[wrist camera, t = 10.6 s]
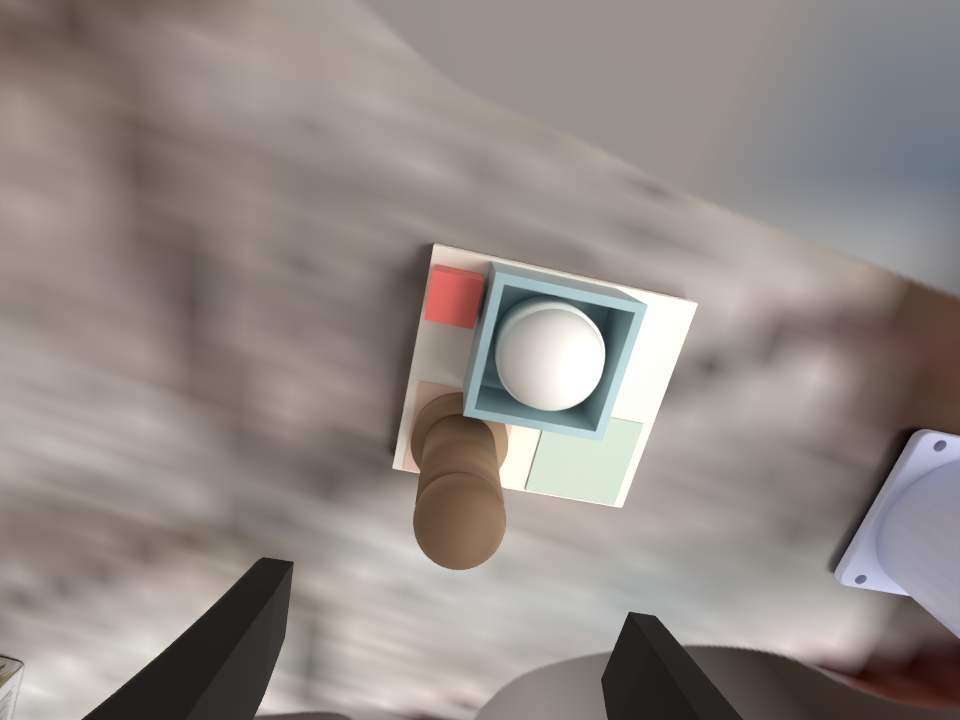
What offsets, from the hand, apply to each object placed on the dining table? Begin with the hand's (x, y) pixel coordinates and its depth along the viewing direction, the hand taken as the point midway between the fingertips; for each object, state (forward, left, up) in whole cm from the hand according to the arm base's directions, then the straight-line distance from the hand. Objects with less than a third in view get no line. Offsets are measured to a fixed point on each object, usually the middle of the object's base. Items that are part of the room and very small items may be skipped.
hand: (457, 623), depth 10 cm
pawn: (0, 0, -8) cm, 8 cm away
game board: (-2, -2, -9) cm, 10 cm away
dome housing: (-2, -4, -8) cm, 10 cm away
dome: (-2, -4, -8) cm, 9 cm away
